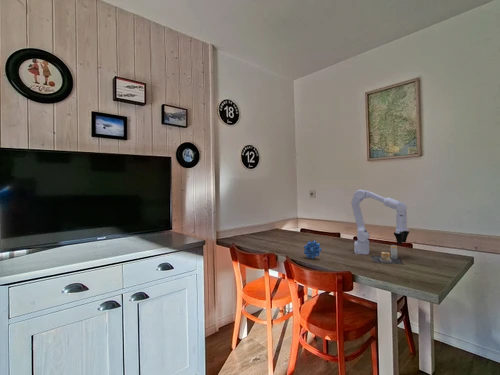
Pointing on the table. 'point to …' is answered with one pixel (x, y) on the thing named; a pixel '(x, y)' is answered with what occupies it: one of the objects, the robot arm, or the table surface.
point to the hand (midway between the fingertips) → (401, 243)
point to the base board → (386, 261)
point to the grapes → (312, 249)
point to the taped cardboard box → (385, 256)
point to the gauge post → (393, 251)
